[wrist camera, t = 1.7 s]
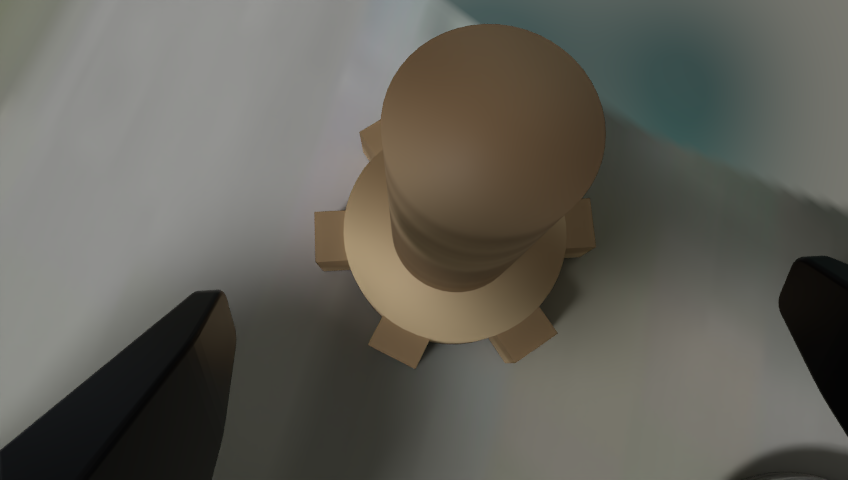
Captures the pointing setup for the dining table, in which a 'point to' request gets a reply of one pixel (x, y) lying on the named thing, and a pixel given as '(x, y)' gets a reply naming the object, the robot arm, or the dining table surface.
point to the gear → (470, 193)
